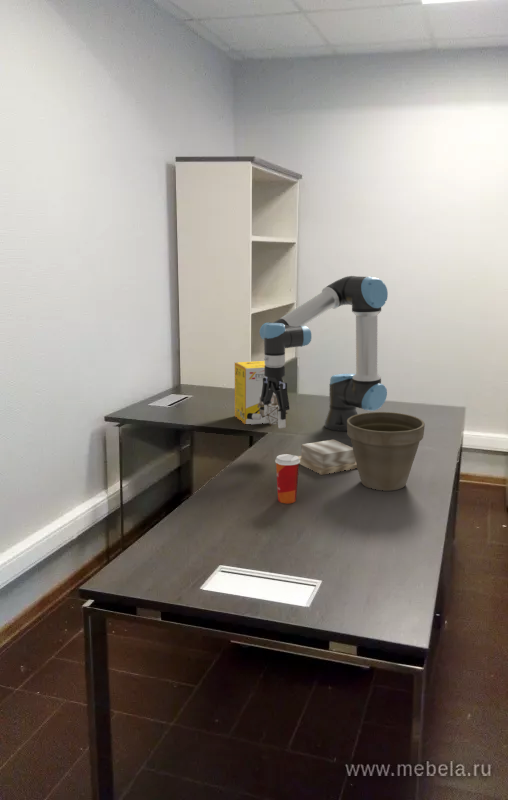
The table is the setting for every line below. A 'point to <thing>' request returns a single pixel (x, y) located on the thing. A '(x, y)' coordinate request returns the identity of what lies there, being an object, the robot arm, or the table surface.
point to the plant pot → (384, 447)
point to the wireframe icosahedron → (272, 414)
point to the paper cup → (287, 477)
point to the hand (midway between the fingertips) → (274, 424)
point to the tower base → (327, 457)
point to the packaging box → (250, 392)
